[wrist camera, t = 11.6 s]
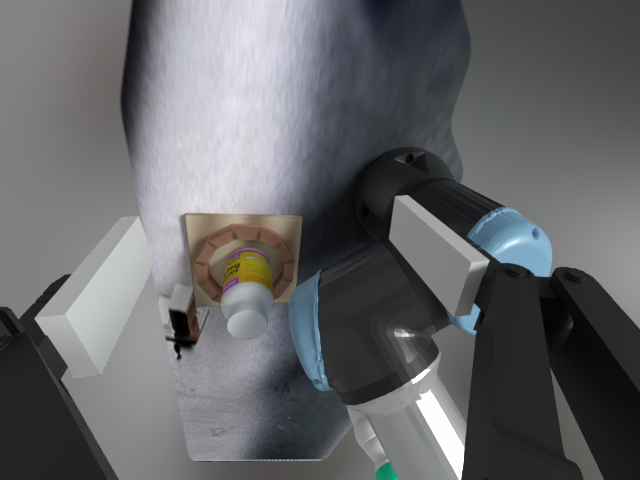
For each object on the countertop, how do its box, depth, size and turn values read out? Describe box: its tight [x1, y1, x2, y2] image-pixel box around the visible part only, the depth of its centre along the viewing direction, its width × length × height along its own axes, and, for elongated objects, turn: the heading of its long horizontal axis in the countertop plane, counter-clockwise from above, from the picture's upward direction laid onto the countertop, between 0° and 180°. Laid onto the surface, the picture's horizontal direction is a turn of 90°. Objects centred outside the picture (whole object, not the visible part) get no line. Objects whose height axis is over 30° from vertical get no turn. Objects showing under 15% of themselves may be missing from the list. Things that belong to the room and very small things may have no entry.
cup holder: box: [185, 213, 302, 307], centre depth 45 cm, size 16×16×3 cm
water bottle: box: [347, 408, 399, 480], centre depth 49 cm, size 7×7×25 cm
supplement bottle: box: [221, 248, 274, 340], centre depth 40 cm, size 7×7×13 cm
